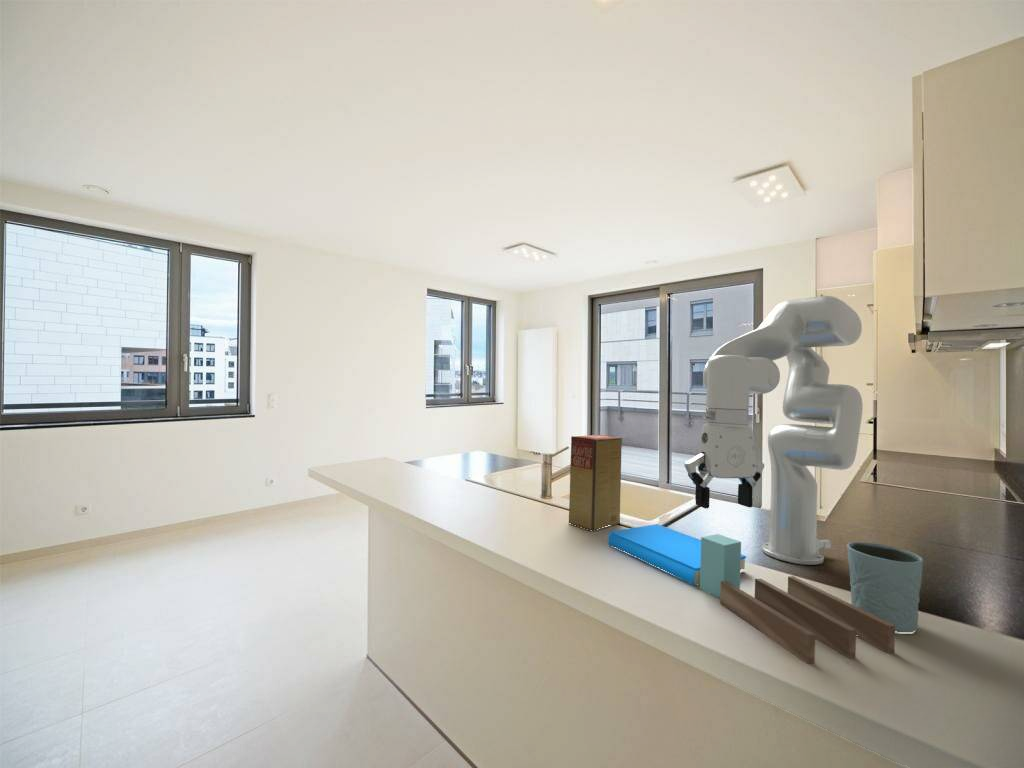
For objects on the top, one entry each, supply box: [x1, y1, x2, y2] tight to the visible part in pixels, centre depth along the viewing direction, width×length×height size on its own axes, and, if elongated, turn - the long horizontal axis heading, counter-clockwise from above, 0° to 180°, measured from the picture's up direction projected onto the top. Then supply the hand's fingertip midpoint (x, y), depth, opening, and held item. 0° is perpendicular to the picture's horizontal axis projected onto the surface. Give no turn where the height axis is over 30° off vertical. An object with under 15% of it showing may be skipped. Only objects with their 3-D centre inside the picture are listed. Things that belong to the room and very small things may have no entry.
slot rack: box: [719, 575, 896, 664], centre depth 74 cm, size 16×18×4 cm
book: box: [607, 523, 747, 586], centre depth 103 cm, size 17×4×25 cm
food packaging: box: [568, 434, 623, 532], centre depth 128 cm, size 13×9×25 cm
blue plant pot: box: [846, 541, 924, 632], centre depth 77 cm, size 10×10×12 cm
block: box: [699, 533, 742, 598], centre depth 86 cm, size 5×5×10 cm
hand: (723, 506), depth 87 cm, fingers open, 9 cm apart
